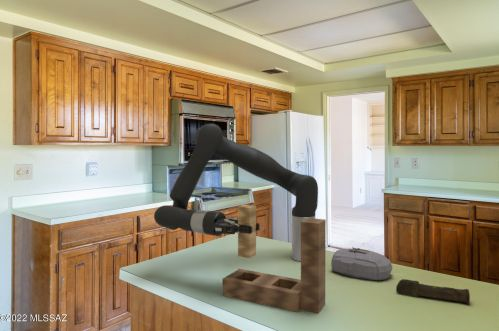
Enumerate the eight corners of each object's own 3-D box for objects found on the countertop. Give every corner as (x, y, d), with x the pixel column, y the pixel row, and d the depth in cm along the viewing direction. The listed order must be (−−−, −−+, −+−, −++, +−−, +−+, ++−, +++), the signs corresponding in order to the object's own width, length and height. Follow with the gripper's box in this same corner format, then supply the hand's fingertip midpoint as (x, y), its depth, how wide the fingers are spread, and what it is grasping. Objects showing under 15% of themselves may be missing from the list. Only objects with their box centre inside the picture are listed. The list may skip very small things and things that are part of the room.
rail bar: (238, 256, 107) (238, 206, 107) (244, 252, 111) (244, 204, 110) (249, 258, 106) (249, 207, 105) (256, 254, 109) (256, 205, 108)
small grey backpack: (326, 274, 125) (386, 286, 113) (326, 250, 124) (386, 260, 113) (342, 262, 137) (397, 272, 126) (342, 241, 137) (397, 249, 125)
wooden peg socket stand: (222, 295, 107) (221, 215, 106) (239, 283, 116) (238, 210, 115) (316, 316, 93) (316, 225, 92) (327, 301, 102) (327, 218, 101)
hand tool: (468, 301, 102) (468, 285, 102) (470, 306, 99) (470, 290, 99) (397, 290, 110) (397, 275, 110) (396, 295, 107) (396, 279, 107)
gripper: (194, 214, 108) (243, 220, 100) (220, 207, 121) (266, 212, 112) (194, 239, 109) (243, 246, 100) (220, 229, 121) (266, 235, 113)
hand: (255, 228), depth 106 cm, fingers closed on rail bar, 4 cm apart
